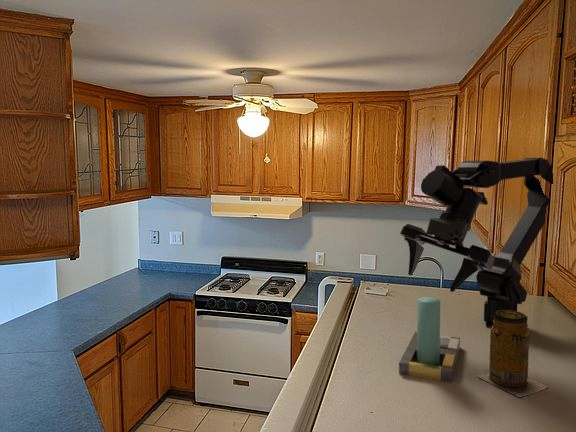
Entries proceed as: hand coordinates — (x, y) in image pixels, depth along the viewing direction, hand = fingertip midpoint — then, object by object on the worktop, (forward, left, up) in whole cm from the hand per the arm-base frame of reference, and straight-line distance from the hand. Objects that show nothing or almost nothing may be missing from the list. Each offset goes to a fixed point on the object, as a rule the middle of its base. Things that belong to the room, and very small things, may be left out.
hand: (430, 283), depth 95 cm
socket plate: (-2, +8, -13) cm, 15 cm away
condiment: (-16, +12, -13) cm, 24 cm away
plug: (-2, +12, -13) cm, 18 cm away
